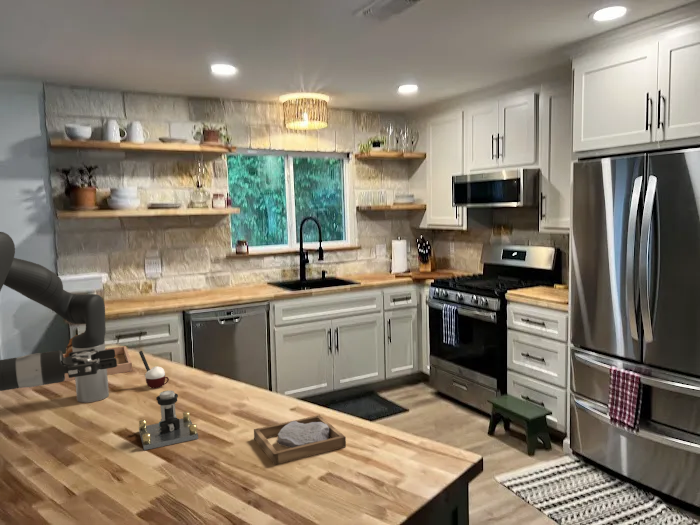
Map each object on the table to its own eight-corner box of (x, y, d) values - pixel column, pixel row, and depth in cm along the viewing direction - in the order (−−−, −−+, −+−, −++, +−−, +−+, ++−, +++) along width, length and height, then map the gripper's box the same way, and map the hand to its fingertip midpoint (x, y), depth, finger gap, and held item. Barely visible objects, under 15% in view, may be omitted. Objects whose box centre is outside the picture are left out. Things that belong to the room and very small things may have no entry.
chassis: (139, 431, 143) (138, 419, 143) (189, 421, 149) (188, 410, 148) (144, 450, 131) (143, 437, 131) (198, 438, 137) (197, 426, 137)
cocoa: (171, 386, 180) (171, 351, 179) (156, 392, 175) (156, 355, 174) (152, 381, 185) (152, 347, 184) (137, 386, 180) (137, 351, 179)
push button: (159, 437, 136) (156, 399, 135) (150, 431, 139) (147, 394, 138) (183, 429, 140) (181, 392, 139) (174, 424, 144) (171, 388, 143)
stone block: (320, 460, 127) (332, 434, 136) (317, 442, 126) (329, 418, 135) (274, 457, 131) (289, 432, 140) (271, 440, 129) (286, 416, 138)
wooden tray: (53, 362, 214) (52, 355, 214) (126, 352, 226) (125, 345, 226) (49, 383, 187) (48, 375, 187) (132, 370, 199) (131, 363, 199)
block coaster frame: (254, 438, 136) (253, 429, 136) (319, 424, 144) (319, 415, 143) (274, 464, 122) (273, 454, 121) (345, 446, 129) (345, 436, 129)
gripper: (36, 361, 119) (116, 349, 126) (41, 346, 132) (112, 336, 139) (40, 394, 120) (119, 380, 127) (44, 375, 133) (115, 364, 140)
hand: (115, 357), depth 133 cm, fingers open, 8 cm apart
